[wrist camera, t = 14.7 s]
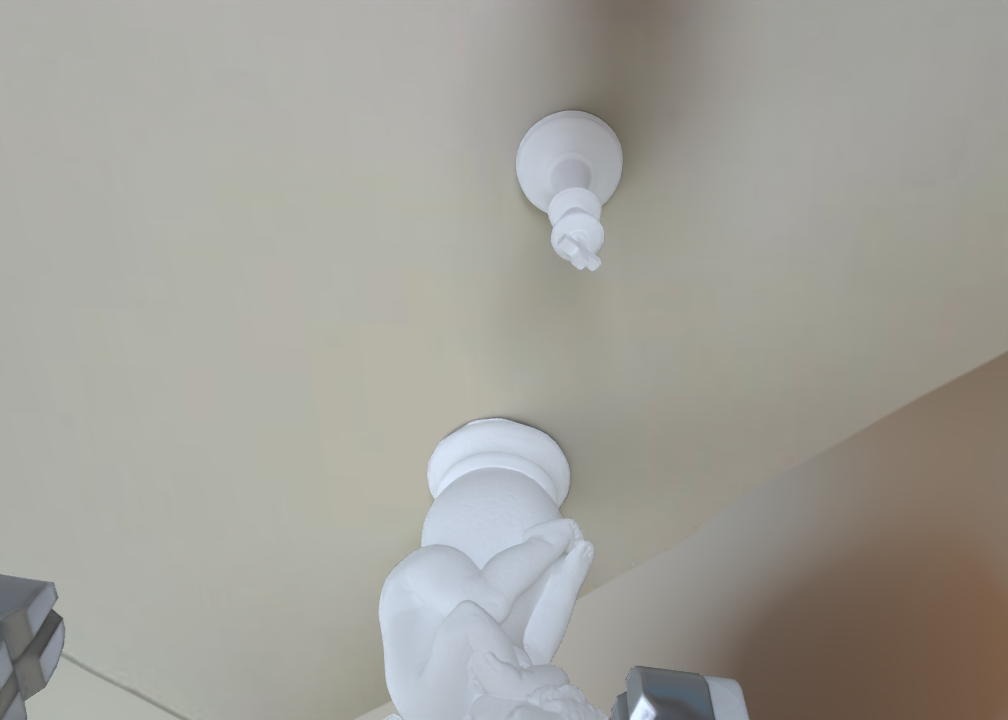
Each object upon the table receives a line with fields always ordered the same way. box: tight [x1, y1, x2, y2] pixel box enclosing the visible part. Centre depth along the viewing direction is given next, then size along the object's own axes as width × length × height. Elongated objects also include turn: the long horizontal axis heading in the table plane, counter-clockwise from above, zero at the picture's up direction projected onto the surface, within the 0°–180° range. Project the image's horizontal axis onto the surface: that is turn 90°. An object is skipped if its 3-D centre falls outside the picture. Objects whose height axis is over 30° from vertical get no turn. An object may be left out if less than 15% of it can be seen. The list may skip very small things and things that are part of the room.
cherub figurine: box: [379, 418, 608, 720], centre depth 38 cm, size 12×12×22 cm
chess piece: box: [516, 111, 623, 272], centre depth 31 cm, size 5×5×10 cm
